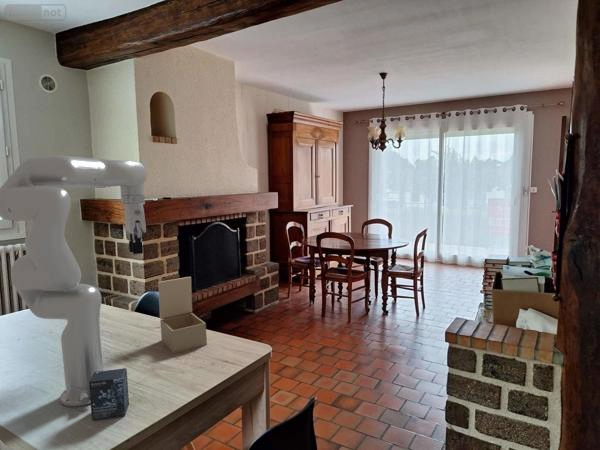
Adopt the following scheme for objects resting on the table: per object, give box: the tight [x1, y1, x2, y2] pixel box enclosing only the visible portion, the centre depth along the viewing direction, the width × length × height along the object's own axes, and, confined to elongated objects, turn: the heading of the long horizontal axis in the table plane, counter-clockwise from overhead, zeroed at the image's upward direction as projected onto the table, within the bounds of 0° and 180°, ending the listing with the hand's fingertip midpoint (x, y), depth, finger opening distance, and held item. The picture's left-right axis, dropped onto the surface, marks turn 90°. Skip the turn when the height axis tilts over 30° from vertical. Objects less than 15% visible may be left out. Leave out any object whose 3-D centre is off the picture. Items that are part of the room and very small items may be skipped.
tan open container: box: [159, 312, 208, 355], centre depth 146 cm, size 14×12×8 cm
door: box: [158, 276, 193, 320], centre depth 152 cm, size 14×12×6 cm
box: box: [89, 367, 130, 421], centre depth 103 cm, size 8×6×11 cm
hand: (136, 252), depth 140 cm, fingers open, 4 cm apart
